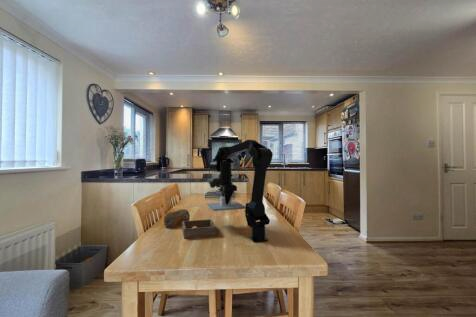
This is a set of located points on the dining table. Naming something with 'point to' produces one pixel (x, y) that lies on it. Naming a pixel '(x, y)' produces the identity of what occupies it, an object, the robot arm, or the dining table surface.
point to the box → (199, 228)
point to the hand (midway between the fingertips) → (226, 203)
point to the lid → (225, 205)
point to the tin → (176, 218)
